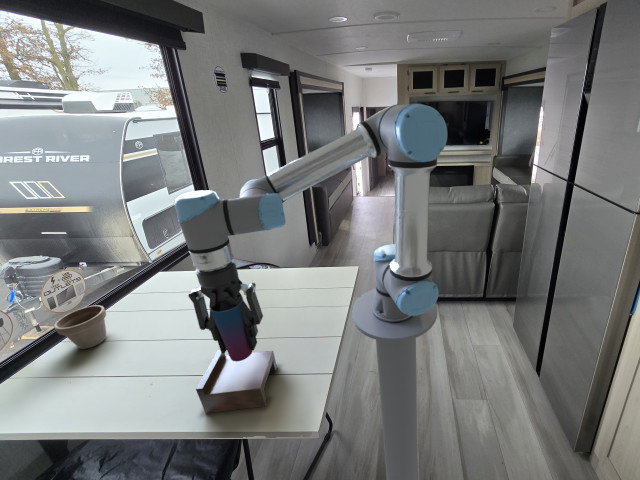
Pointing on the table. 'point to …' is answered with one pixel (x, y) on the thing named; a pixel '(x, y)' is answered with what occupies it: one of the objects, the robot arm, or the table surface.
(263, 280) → the table surface
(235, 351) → the cup
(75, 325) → the flower pot
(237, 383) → the brown stepped block
